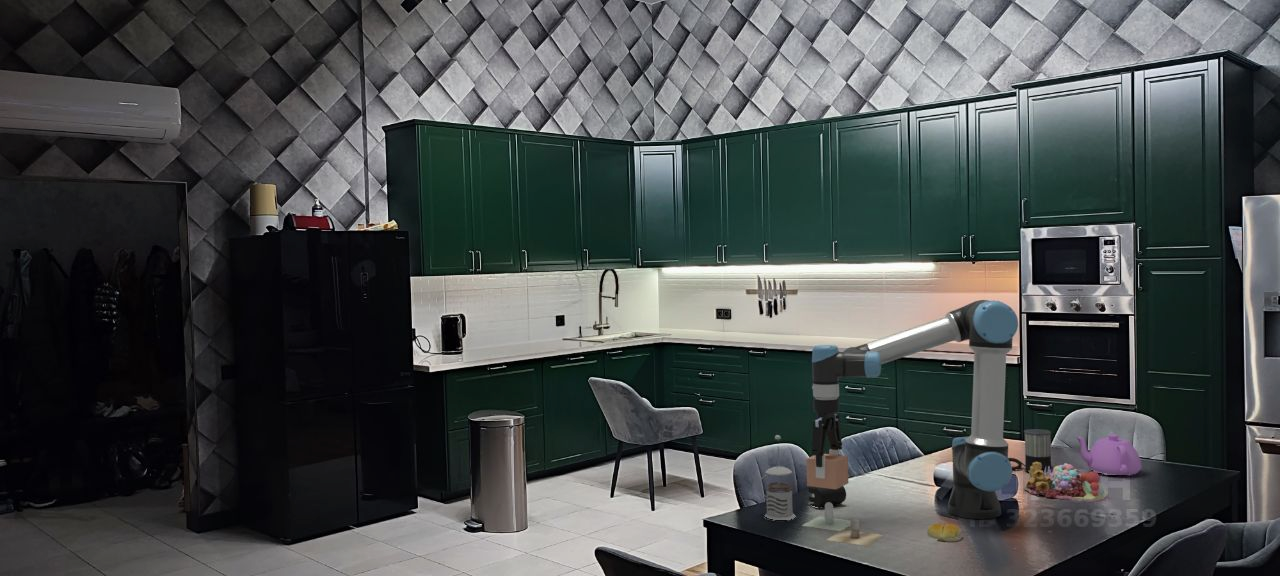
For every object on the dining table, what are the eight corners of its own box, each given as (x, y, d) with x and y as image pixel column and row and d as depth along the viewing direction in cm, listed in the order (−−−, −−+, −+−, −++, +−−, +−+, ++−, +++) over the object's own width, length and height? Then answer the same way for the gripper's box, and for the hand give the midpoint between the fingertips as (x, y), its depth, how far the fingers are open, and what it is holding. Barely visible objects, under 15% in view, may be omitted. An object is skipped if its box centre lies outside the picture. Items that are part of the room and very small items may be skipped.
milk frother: (1056, 474, 326) (1055, 432, 326) (1012, 475, 326) (1011, 434, 326) (1040, 466, 340) (1039, 426, 340) (997, 467, 341) (996, 427, 340)
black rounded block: (821, 510, 285) (821, 489, 285) (807, 506, 292) (807, 484, 292) (846, 506, 290) (846, 485, 290) (832, 501, 296) (832, 481, 296)
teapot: (1065, 467, 338) (1064, 429, 338) (1127, 467, 335) (1126, 429, 335) (1085, 480, 316) (1084, 440, 316) (1152, 480, 313) (1151, 440, 313)
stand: (884, 537, 254) (883, 517, 254) (867, 548, 244) (867, 527, 244) (843, 531, 261) (842, 511, 261) (826, 542, 251) (825, 521, 251)
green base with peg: (856, 523, 269) (856, 500, 269) (840, 533, 260) (839, 509, 259) (819, 518, 276) (818, 495, 276) (801, 527, 267) (801, 504, 266)
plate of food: (1026, 499, 293) (1025, 470, 293) (1021, 483, 315) (1020, 456, 315) (1113, 503, 285) (1112, 473, 285) (1101, 486, 307) (1100, 459, 307)
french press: (788, 522, 273) (786, 438, 273) (753, 517, 279) (750, 436, 279) (801, 514, 281) (799, 433, 281) (766, 510, 287) (764, 431, 287)
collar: (848, 483, 269) (847, 456, 269) (836, 489, 262) (835, 461, 262) (820, 479, 274) (819, 453, 274) (807, 485, 267) (806, 458, 267)
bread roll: (931, 532, 258) (931, 518, 258) (964, 536, 253) (964, 522, 253) (923, 540, 251) (923, 525, 251) (957, 544, 246) (956, 529, 246)
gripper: (829, 393, 279) (830, 466, 279) (798, 401, 261) (799, 480, 261) (852, 394, 274) (854, 469, 274) (822, 403, 257) (824, 483, 257)
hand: (827, 474), depth 268 cm, fingers closed on collar, 9 cm apart
